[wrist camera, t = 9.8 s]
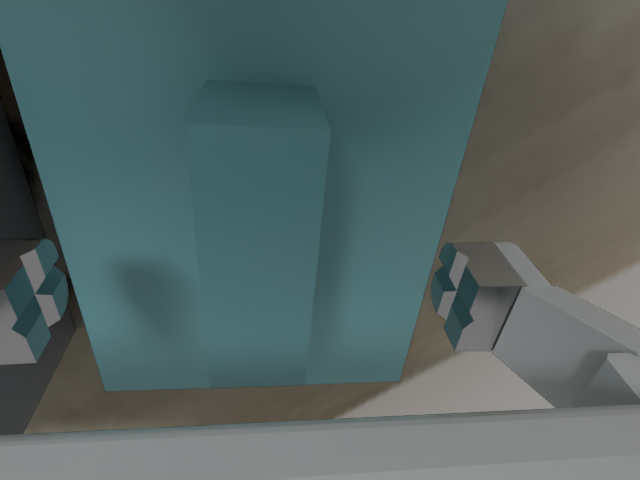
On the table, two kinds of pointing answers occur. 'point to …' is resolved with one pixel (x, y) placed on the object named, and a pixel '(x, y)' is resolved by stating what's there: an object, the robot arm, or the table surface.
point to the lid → (248, 175)
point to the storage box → (32, 378)
